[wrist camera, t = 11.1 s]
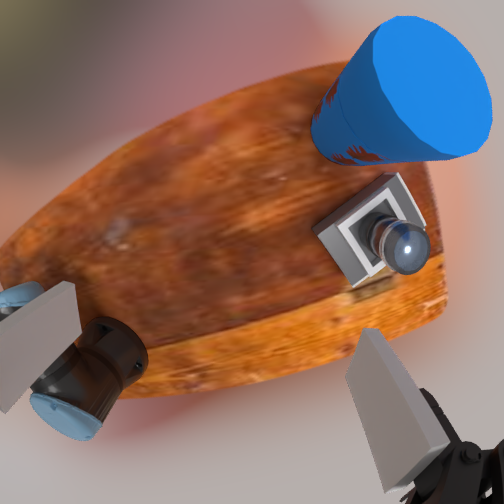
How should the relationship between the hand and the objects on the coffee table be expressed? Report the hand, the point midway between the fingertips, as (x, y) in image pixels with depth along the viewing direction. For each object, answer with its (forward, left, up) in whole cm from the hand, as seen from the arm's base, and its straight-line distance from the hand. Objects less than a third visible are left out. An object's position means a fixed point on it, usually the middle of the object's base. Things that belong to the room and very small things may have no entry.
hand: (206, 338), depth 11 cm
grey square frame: (+13, -11, -30) cm, 35 cm away
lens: (+13, -11, -25) cm, 30 cm away
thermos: (+19, +2, -30) cm, 36 cm away
